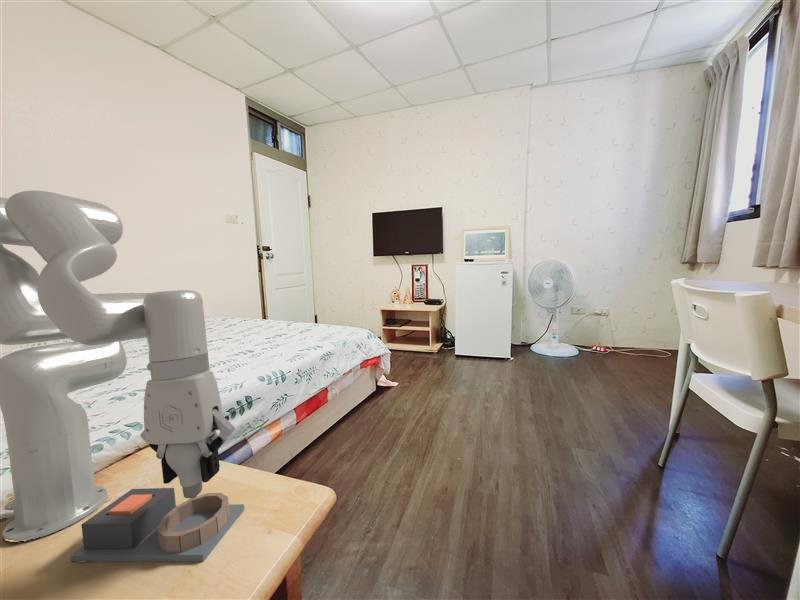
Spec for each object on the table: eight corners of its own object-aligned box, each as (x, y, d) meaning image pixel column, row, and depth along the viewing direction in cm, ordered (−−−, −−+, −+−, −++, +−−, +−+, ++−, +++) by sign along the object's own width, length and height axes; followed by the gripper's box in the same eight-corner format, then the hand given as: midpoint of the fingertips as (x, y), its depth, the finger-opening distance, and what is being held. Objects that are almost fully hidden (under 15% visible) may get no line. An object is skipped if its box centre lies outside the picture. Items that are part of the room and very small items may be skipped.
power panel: (71, 562, 44) (67, 529, 44) (135, 511, 54) (132, 485, 54) (203, 561, 43) (200, 528, 43) (244, 509, 53) (241, 482, 53)
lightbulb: (192, 513, 44) (186, 441, 44) (159, 509, 46) (153, 439, 45) (224, 486, 50) (219, 422, 50) (194, 483, 52) (189, 421, 51)
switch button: (110, 535, 47) (108, 511, 47) (133, 517, 51) (131, 494, 51) (133, 535, 47) (130, 511, 47) (154, 516, 51) (152, 494, 50)
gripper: (106, 377, 44) (119, 495, 45) (215, 371, 43) (227, 491, 43) (152, 364, 52) (162, 465, 52) (246, 358, 50) (256, 462, 51)
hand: (192, 476), depth 48 cm, fingers closed on lightbulb, 5 cm apart
